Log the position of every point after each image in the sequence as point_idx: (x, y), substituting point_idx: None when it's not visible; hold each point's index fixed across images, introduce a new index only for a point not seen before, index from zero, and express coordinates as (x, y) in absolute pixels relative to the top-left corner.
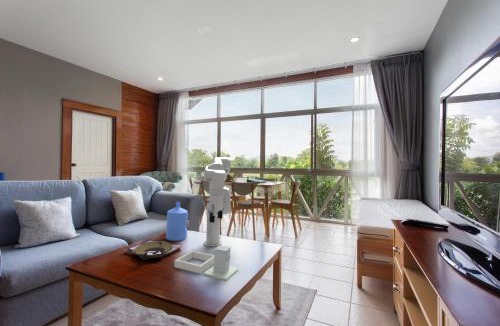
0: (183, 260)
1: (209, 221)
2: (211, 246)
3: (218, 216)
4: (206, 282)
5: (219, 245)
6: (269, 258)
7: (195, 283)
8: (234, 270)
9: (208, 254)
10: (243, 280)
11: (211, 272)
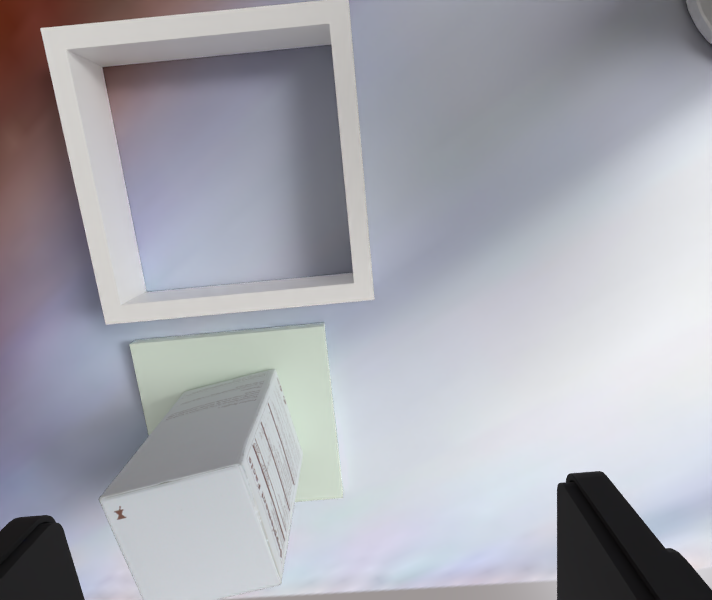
0: (175, 51)
1: (15, 523)
2: (688, 8)
3: (583, 556)
4: (67, 419)
5: (240, 472)
6: None
7: (8, 370)
8: (299, 493)
9: (357, 217)
10: None
11: (172, 384)
